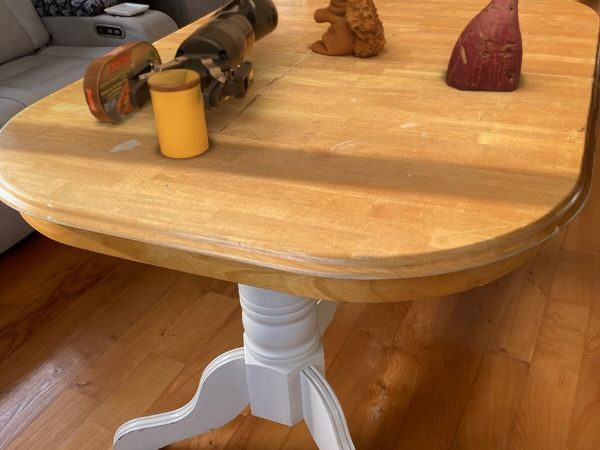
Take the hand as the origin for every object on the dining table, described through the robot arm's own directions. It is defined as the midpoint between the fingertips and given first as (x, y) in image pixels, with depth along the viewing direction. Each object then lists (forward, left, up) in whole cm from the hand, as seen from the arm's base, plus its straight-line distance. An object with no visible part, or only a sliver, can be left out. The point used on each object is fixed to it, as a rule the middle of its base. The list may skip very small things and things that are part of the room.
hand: (170, 101), depth 63 cm
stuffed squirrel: (+16, +41, -7) cm, 45 cm away
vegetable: (+36, +28, -7) cm, 46 cm away
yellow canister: (0, +2, -7) cm, 7 cm away
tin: (-12, +13, -7) cm, 19 cm away
